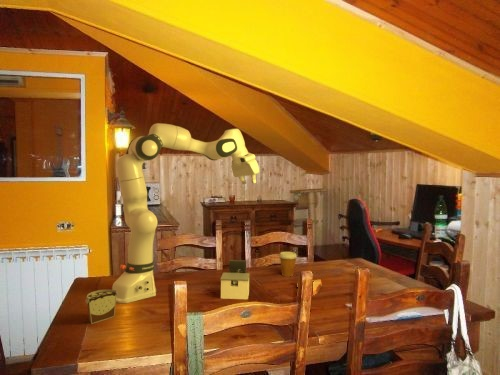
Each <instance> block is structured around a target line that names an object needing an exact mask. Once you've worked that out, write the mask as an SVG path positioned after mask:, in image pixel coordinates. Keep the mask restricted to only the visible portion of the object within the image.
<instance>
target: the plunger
mask: <svg viewBox="0 0 500 375" xmlns="http://www.w3.org/2000/svg"><path fill="white" fill-rule="evenodd" d="M228 263H229V264H228V265H229V267H228V269H229V270H228V271H229V272H228V273H247V260H245V259H244V260H242V259H239V260H237V259H229V262H228ZM233 284H234V285H235V284H237V281H233Z"/></svg>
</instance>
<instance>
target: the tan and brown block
mask: <svg viewBox="0 0 500 375" xmlns="http://www.w3.org/2000/svg"><path fill="white" fill-rule="evenodd" d="M116 295H117V296H118V294H117V291H116V290H112V289H98V290H94V291H91V292H89V293H87V295H86V298H85V300H84V302H85V304H86V305H87V311H88V320H89V324H91V325H93V324H96V323H100V322H102V321H105V320H106V321H107V320H109V319H112V318H115V316H116V315H115V313H116V304H117V302H116Z"/></svg>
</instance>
